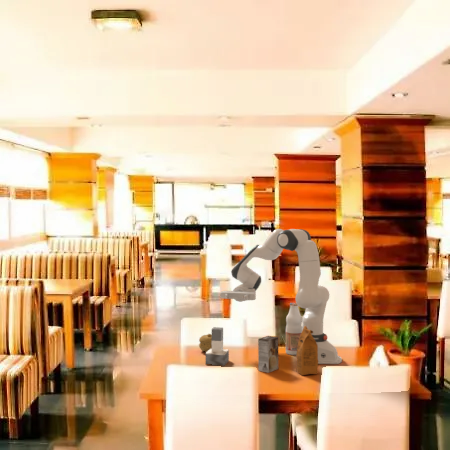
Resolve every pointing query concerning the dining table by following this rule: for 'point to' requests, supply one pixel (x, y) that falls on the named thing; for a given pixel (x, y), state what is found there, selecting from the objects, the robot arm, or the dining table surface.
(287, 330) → the fruit juice
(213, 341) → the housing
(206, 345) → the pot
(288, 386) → the dining table surface
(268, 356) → the coffee box
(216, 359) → the stand
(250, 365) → the dining table surface
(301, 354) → the coffee package
